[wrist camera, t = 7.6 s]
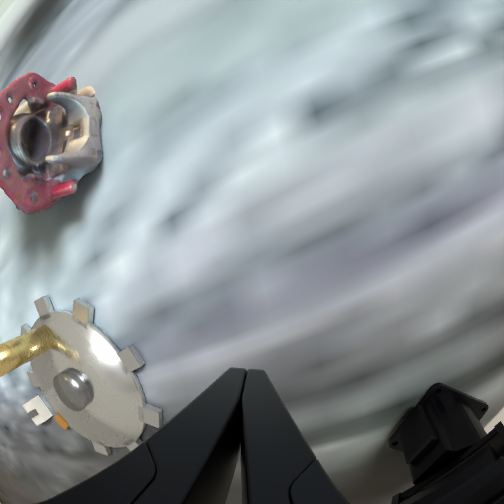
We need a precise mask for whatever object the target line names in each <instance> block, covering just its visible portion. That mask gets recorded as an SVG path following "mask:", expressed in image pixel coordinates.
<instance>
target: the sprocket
mask: <svg viewBox="0 0 504 504" xmlns="http://www.w3.org/2000/svg"><path fill="white" fill-rule="evenodd" d="M34 303H35V306H36V308H37V311H38V313H39V316H40V317H39V318H38V319H37V320H36V322H35V323H34V325H33V327H32V329H31V328H30V327H29V326H28V325H27V324H23V325H21V335H20V336H18V337H16V338H13V339H11V340H9V341H7V342H5V343H2V344H0V377H1V376H3V375H4V374H6V373H8V372H10V371H12V370H14V369H16V368H17V367H19V366H21V365H23V364H25V363H27V362H29V361H31V366H32V369H33V370H29V371H27V374H28V376H29V379H30V381H31V384H32V386H35V387H40V389H41V391H42V393H43V395H44V396H45V398H46V399H47V401H48V402H49V404H50V405H51V407H52V408H53V409H54V411H55V412H56V413H57V414H56V417H55V420H56V421H57V422H58V423H59V424H60V425H61V426H62V427H63V428H64V429H65V430H66V429H67V428H69V426H70V427H71V428H72V429H73V430H75V431H76V432H77V433H79V434H80V435H82V436H83V437H85V438H87V439H89V440H90V441H92V443H93V446H94V448H95V451H97V452H99V453H102V454H104V455H107V456H109V455H110V454H111V450H110V447H113V448H120V447H127V448H128V449H129V450H130V451H132V450H133V449H135V448H136V447H137V446H138V445H140V444H141V443H142V441H141V440H140V439H139V438H138V437H139V436H140V435H141V434H142V433H143V431H144V429H145V426H146V424H149V425H152V426H154V427H157V428H160V427H161V425H162V424H163V421H162V409H161V408H158V407H155V406H152V405H150V404H147V403H146V400H145V396H144V393H143V390H142V387H141V384H140V382H139V380H138V378H137V376H136V374H135V372H134V370H136V369H138V368H140V367H141V366H142V365H144V364H145V362H144V361H143V359H142V358H141V356H140V355H139V353H138V352H137V350H136V349H135V347H134V346H133V344H132V345H131V346H129V347H127V348H125V349H124V350H122V351H121V350H120V349H119V348H118V346H117V345H116V344H115V343H114V342H113V341H112V340H111V338H110V337H109V336H107V335H106V334H105V333H104V332H103V331H102V330H101V329H100V328H99V327H97V326H96V325H95V324H94V323H93V313H94V306H92V305H90V304H89V303H87V302H85V301H83V300H82V299H80V298H78V299H76V300H74V304H73V312H71V311H66V310H55V311H54V309H53V307H52V304H51V301H50V299H49V296H48V295H46V296H43V297H41V298H40V299H38V300H36V301H34Z"/></svg>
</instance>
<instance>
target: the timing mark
mask: <svg viewBox="0 0 504 504" xmlns="http://www.w3.org/2000/svg"><path fill="white" fill-rule="evenodd" d="M23 407H24V408H25V410H26V411H27V413H28V415H29V416H30V418H32V420H33V421H34V422H35V424H36V425H39V424H41V423H43V422H45V421H46V420H47V419H49V418H50V417H51V416H53V415H52V414H51V412H50V411H49V410H48V408H47V407H46V405H45V404H44V402H43V401H42V400H41V398H40V397H39V395H38V396H36V397H34V398H33V399H31V400H30V401H29V402H27V403H26V404H24V405H23Z"/></svg>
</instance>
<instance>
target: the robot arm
mask: <svg viewBox="0 0 504 504" xmlns="http://www.w3.org/2000/svg"><path fill="white" fill-rule="evenodd" d="M439 388H440V389H439ZM437 389H439V390H438V391H436V390H437ZM483 407H484V408H483ZM482 408H483V409H482ZM487 410H488V405H487V403H486V402H484V401H481V400H479V399H477V398H474V397H472V396H469V395H467V394H465V393H462V392H460V391H458V390H455V389H453V388H451V387H448V386H446V385H444V384H442V383H436V384H434V385H433V386H432V388H431V389H430V390H429V392H428V393H427V394H426V396H425V397H424V398H423V400H422V401H421V402H420V403H419V405H417V406H416V407H415V409H414V410H413V411H412V412H411V414H410V415H409V416H408V417H407V418H406V420H405V421H404V422H403V423H402V424H401V426H400V427H399V428H398V430H397V431H396V432H395V434H394V435H393V436H392V437H391V438H390V439H389V446H390V447H391V448H394V449H397V450H401V451H404V455H405V460H406V463H407V464H409V466H410V471H411V475H412V480H413V484H414V485H415V486H413V487H411V488H409V489H408V490H406V491H404V492H402V493H398V494H396V495H395V496H393V498H392V503H391V504H504V426H503V424H502V423H501V421H500V422H499V423H498V424H497V425H496V426H495V428H494V429H493V430H492V431H490V432H489V433H488V434H487V433H486V432H485V430H484V428H483V426H482V425H481V423H480V421H479V420H480V419H481V418H482V416H483V415H484V414H485V413H486V411H487ZM395 441H397V442H395ZM393 442H395V443H393ZM240 446H241V484H242V504H350V503H349V502H348V501H347V500H346V499H345V497H344V496H343V495H342V494H341V493H340V491H339V490H338V489H337V488H336V486H335V485H334V483H333V482H332V481H331V479H330V478H329V476H328V475H327V473H326V472H325V470H324V469H323V467H322V466H321V464H320V462H319V461H318V460H316V456H315V455H314V453H313V452H312V450H311V448H310V447H309V445H308V443H307V442H306V440H305V438H304V437H303V435H302V434H301V432H300V430H299V429H298V427H297V425H296V424H295V422H294V420H293V419H292V417H291V415H290V414H289V412H288V410H287V408H286V407H285V405H284V403H283V402H282V400H281V398H280V396H279V395H278V393H277V391H276V390H275V388H274V386H273V384H272V383H271V381H270V379H269V377H268V376H267V374H266V372H265V371H264V370H259V369H249V370H248V371H247V370H246V369H244V368H229V369H228V370H227V371H226V372H225V373H223V374H222V375H221V376H220V377H219V378H218V379H217V380H216V381H215V382H213V383H212V384H211V385H210V386H209V387H208V388H207V389H206V390H204V391H203V392H202V393H201V394H200V395H199V396H198V397H196V398H195V399H194V400H193V401H192V402H191V403H189V404H188V405H187V406H186V407H185V408H184V409H182V410H181V411H180V412H179V413H178V414H177V415H175V416H174V417H173V418H172V419H171V420H169V421H168V422H167V423H166V424H165V425H163V426H162V427H161V428H160V429H159V430H157V431H156V432H155V433H154V434H152V435H151V436H150V437H149V438H147V439H146V442H142V443H141V444H140V445H138V446H137V447H136V448H135V449H133V450H132V451H131V452H129V453H128V454H127V455H125V456H124V457H122V458H121V459H120V460H118V461H117V462H115V463H114V464H112V465H111V466H109V467H107V468H106V469H104V470H102V471H101V472H99V473H97V474H96V475H94V476H92V477H90V478H88V479H87V480H85V481H83V482H81V483H79V484H77V485H75V486H73V487H72V488H70V489H68V490H66V491H64V492H62V493H60V494H58V495H56V496H54V497H52V498H49V499H47V500H44V501H41V502H38V503H33V504H225V502H226V499H227V495H228V492H229V488H230V485H231V481H232V478H233V474H234V471H235V467H236V464H237V460H238V456H239V452H240Z"/></svg>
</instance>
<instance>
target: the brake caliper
mask: <svg viewBox="0 0 504 504" xmlns="http://www.w3.org/2000/svg"><path fill="white" fill-rule="evenodd" d="M33 84H35V87H34V85H33ZM94 95H95V90H94V89H92V88H91V87H85V88H84V89H82V90H80V91H79V92H77V84H76V79H75V78H74V77H70V78H68V79H66V80H65V81H63V82H61V83H60V84H58V85H57V86H56V85H54V84H53V83H50V82H48V81H47V80H45V79H44V78H43V77H41V76H40V75H38V74H36V73H27V74H26V75H25V76H22V77H20V78H18V79H17V80H15V81H14V82H13V83H11V84H10V85H9V86H8V87H7V88H6V89H5V90H3V91H2V92H0V114H1V120H0V187H1V188H2V189H3V190H4V192H5V194H6V195H7V196H8V197H9V198H10V199H11V200H12V201H13V202H14V204H15V205H16V208H17V209H18V210H21V211H23V212H24V213H26V214H35V213H37V212H40V211H42V210H44V209H48V208H50V207H51V206H53V205H54V204H55V203H56V202H57V201H58V200H59V199H60V198H62V197H66V196H70V195H73V194H75V193H76V192H77V183H78V181H79V180H80V178H81V177H82V176H84V175H85V174H87V173H90V172H93V171H94V170H95V169H96V167H97V166H98V164H99V163H100V162H101V160H102V159H103V151H102V141H101V132H100V126H101V121H102V115H101V111H100V106H99V103H98V100H97V98H95V97H93V96H94ZM9 97H10V98H11V100H12V102H11V103H9V101H8V98H9ZM23 99H26V100H27V101H25V102H24V103H23V104H21V105H20V106H19V104H20V102H21V101H22V100H23ZM18 106H19V107H18Z"/></svg>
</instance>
